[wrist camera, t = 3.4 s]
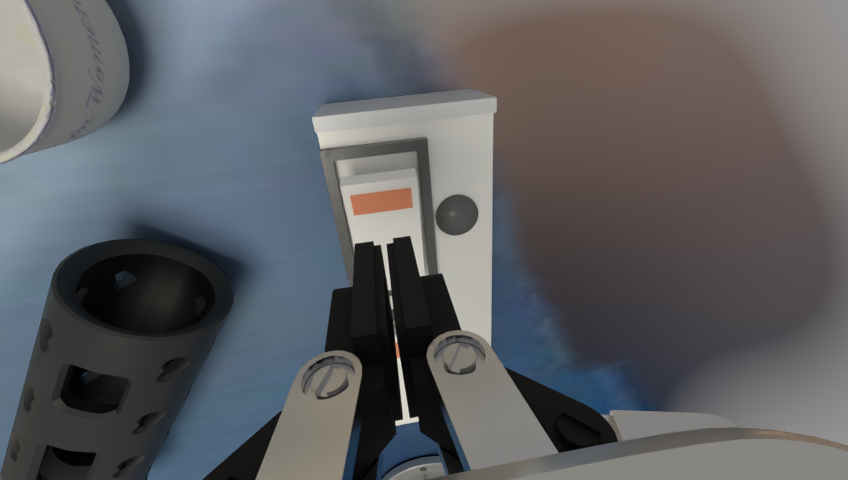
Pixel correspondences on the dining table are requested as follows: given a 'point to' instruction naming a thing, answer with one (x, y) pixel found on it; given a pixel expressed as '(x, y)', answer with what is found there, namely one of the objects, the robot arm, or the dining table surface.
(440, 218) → the white switch block
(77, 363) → the muzzle brake
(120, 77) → the teacup
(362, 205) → the outlet rocker
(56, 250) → the dining table surface
